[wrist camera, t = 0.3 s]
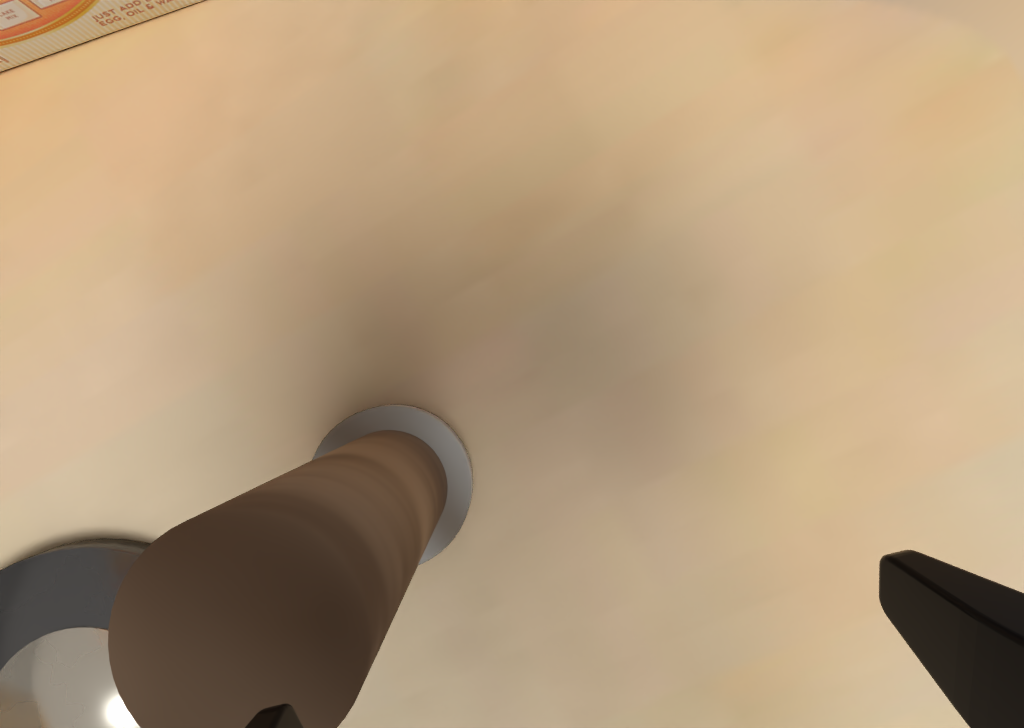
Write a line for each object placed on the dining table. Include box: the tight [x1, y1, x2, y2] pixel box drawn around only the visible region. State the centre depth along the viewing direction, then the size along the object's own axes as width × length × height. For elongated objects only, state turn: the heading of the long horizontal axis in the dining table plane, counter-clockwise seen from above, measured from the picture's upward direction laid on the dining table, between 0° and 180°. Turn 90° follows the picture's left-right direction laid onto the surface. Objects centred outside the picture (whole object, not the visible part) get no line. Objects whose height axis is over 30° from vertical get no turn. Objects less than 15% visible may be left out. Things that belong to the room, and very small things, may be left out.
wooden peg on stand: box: [108, 404, 473, 728], centre depth 16 cm, size 7×7×13 cm
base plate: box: [0, 539, 151, 728], centre depth 22 cm, size 15×15×1 cm
